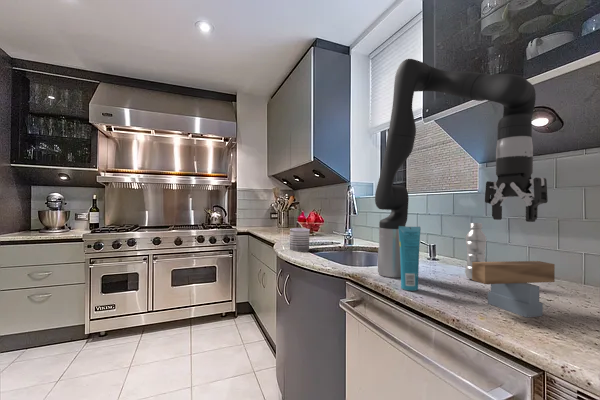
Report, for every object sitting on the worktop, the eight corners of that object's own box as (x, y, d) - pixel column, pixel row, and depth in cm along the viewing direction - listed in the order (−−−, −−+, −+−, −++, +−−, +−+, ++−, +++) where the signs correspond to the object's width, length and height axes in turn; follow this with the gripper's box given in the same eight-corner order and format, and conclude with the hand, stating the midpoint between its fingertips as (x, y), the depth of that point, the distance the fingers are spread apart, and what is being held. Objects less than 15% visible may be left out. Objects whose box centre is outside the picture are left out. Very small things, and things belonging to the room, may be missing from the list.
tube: (413, 286, 91) (414, 225, 92) (424, 290, 87) (425, 226, 87) (394, 287, 89) (394, 225, 89) (404, 292, 84) (404, 226, 85)
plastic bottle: (488, 280, 101) (489, 223, 101) (483, 283, 96) (483, 224, 97) (468, 276, 106) (468, 222, 106) (462, 279, 101) (462, 222, 101)
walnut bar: (472, 279, 72) (472, 261, 72) (538, 278, 76) (538, 261, 76) (484, 284, 68) (485, 265, 68) (554, 282, 72) (554, 264, 72)
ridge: (487, 303, 76) (487, 276, 76) (502, 301, 77) (502, 275, 77) (526, 317, 66) (526, 287, 66) (542, 315, 68) (542, 285, 68)
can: (310, 248, 168) (310, 228, 168) (308, 251, 156) (308, 229, 157) (291, 248, 169) (291, 227, 169) (287, 250, 158) (288, 229, 158)
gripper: (477, 160, 79) (477, 219, 78) (532, 151, 65) (531, 222, 65) (499, 161, 81) (498, 219, 80) (556, 153, 67) (555, 222, 67)
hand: (513, 220), depth 73 cm, fingers open, 8 cm apart
